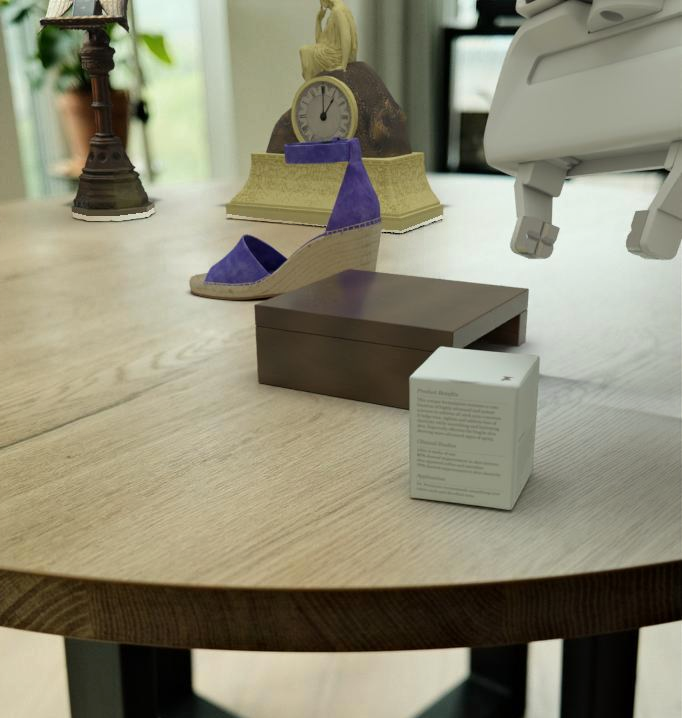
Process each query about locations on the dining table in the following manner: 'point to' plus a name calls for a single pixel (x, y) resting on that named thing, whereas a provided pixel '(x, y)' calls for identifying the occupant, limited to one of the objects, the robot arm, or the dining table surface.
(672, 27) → the robot arm
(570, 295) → the dining table surface
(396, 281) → the low wooden riser
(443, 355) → the product box
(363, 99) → the decorative clock
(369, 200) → the sandal
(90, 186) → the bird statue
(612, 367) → the dining table surface
